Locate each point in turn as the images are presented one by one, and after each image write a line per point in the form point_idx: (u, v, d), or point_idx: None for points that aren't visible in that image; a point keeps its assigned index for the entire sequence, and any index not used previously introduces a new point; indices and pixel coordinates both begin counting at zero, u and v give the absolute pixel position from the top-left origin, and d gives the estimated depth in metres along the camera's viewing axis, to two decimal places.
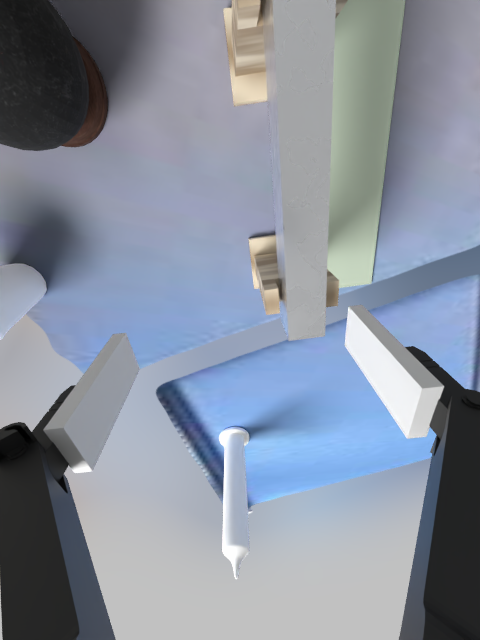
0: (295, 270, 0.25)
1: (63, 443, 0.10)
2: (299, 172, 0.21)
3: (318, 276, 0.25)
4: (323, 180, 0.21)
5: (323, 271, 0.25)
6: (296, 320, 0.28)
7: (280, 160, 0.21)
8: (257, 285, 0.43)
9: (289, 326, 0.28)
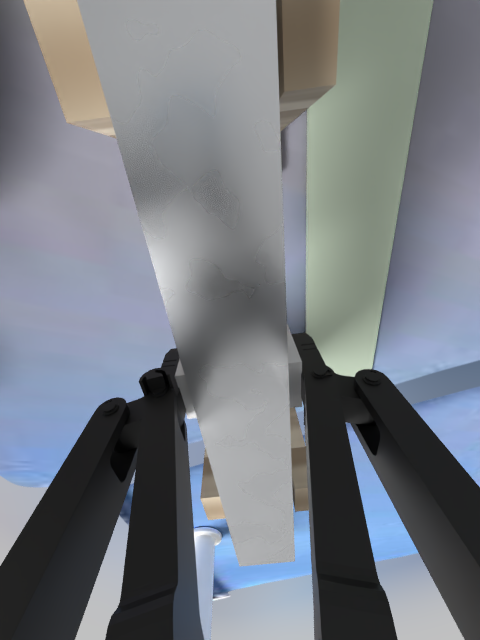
0: (239, 507, 0.15)
1: (187, 389, 0.12)
2: (230, 407, 0.11)
3: (278, 513, 0.15)
4: (277, 415, 0.11)
5: (287, 508, 0.15)
6: (248, 550, 0.18)
7: (191, 391, 0.11)
8: None
9: (238, 555, 0.18)
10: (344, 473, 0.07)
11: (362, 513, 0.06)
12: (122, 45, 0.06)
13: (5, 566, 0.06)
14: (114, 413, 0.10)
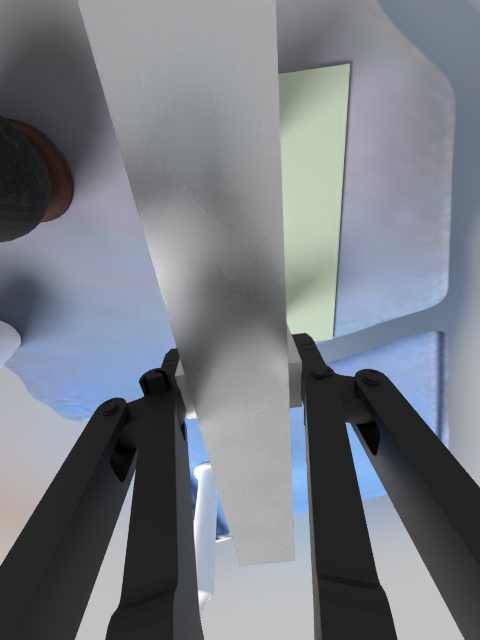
0: (239, 507, 0.15)
1: (187, 388, 0.12)
2: (230, 407, 0.11)
3: (278, 512, 0.15)
4: (277, 415, 0.11)
5: (287, 507, 0.15)
6: (248, 549, 0.18)
7: (191, 391, 0.11)
8: None
9: (238, 554, 0.18)
10: (344, 473, 0.07)
11: (362, 513, 0.06)
12: (123, 47, 0.06)
13: (5, 566, 0.06)
14: (114, 413, 0.10)
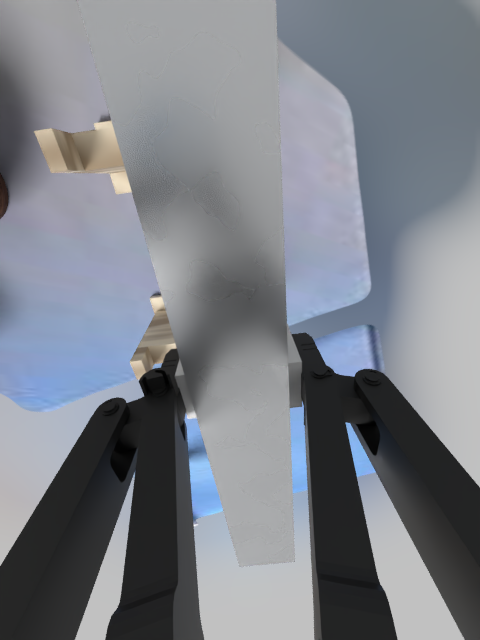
0: (239, 508, 0.15)
1: (187, 389, 0.12)
2: (230, 408, 0.11)
3: (278, 513, 0.15)
4: (277, 416, 0.11)
5: (287, 508, 0.15)
6: (248, 550, 0.18)
7: (191, 392, 0.11)
8: None
9: (238, 555, 0.18)
10: (344, 473, 0.07)
11: (362, 513, 0.06)
12: (123, 48, 0.06)
13: (5, 567, 0.06)
14: (114, 413, 0.10)
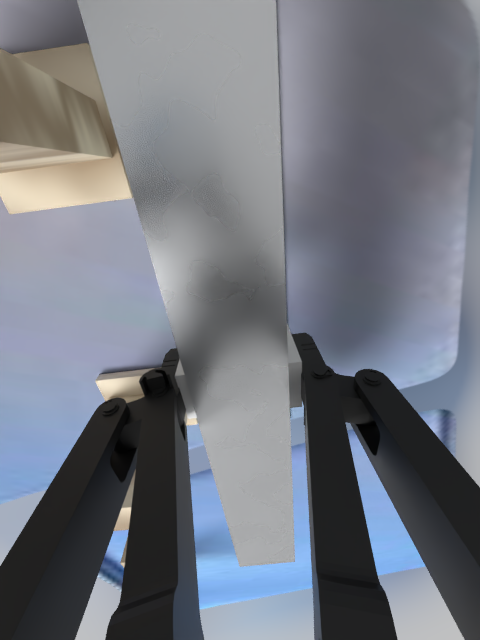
0: (239, 508, 0.15)
1: (187, 389, 0.12)
2: (230, 408, 0.11)
3: (278, 513, 0.15)
4: (277, 416, 0.11)
5: (287, 508, 0.15)
6: (248, 550, 0.18)
7: (191, 392, 0.11)
8: None
9: (239, 555, 0.18)
10: (344, 473, 0.07)
11: (362, 513, 0.06)
12: (123, 49, 0.06)
13: (5, 566, 0.06)
14: (114, 413, 0.10)
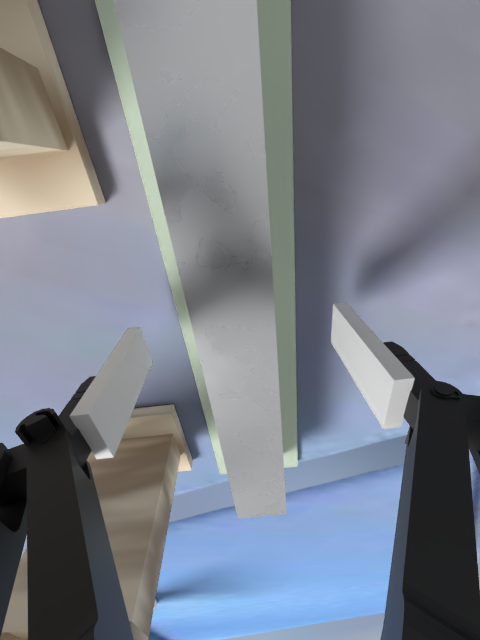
0: (237, 458, 0.18)
1: (88, 429, 0.10)
2: (229, 362, 0.14)
3: (271, 463, 0.18)
4: (268, 370, 0.14)
5: (278, 459, 0.18)
6: (245, 501, 0.20)
7: (198, 348, 0.13)
8: None
9: (237, 506, 0.21)
10: (457, 510, 0.06)
11: (474, 562, 0.05)
12: (156, 86, 0.08)
13: None
14: None
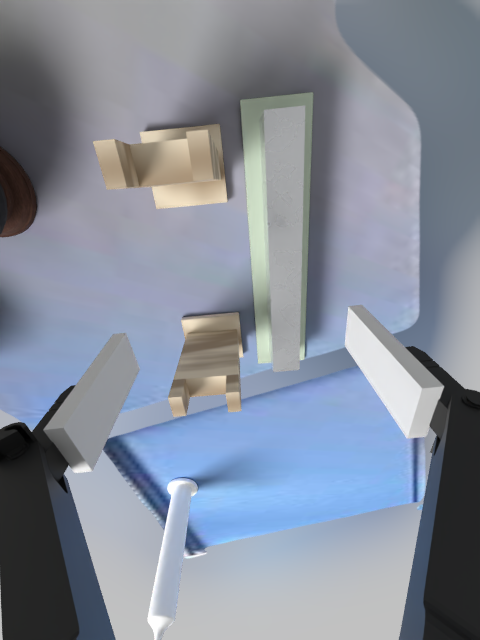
0: (278, 326, 0.36)
1: (63, 443, 0.10)
2: (281, 269, 0.32)
3: (294, 330, 0.37)
4: (297, 274, 0.33)
5: (297, 327, 0.36)
6: (278, 358, 0.39)
7: (269, 261, 0.32)
8: None
9: (274, 362, 0.39)
10: None
11: None
12: (272, 166, 0.27)
13: None
14: None
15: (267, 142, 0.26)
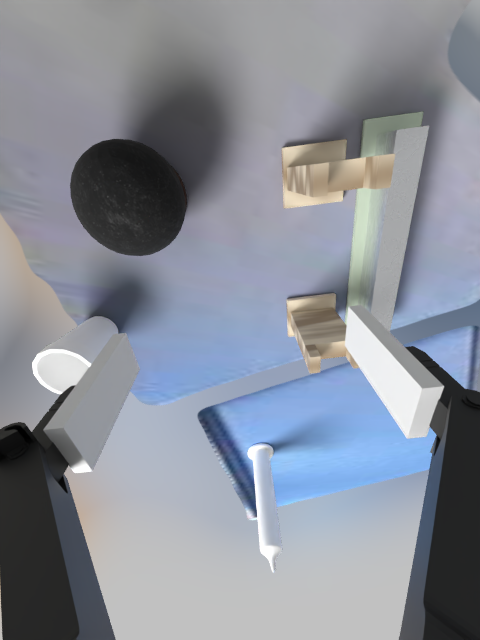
0: (377, 302, 0.44)
1: (63, 443, 0.10)
2: (388, 254, 0.40)
3: (389, 305, 0.45)
4: (400, 257, 0.41)
5: (393, 302, 0.44)
6: None
7: (379, 248, 0.40)
8: (291, 334, 0.52)
9: None
10: None
11: None
12: (395, 172, 0.35)
13: None
14: None
15: (395, 154, 0.34)
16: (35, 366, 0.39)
